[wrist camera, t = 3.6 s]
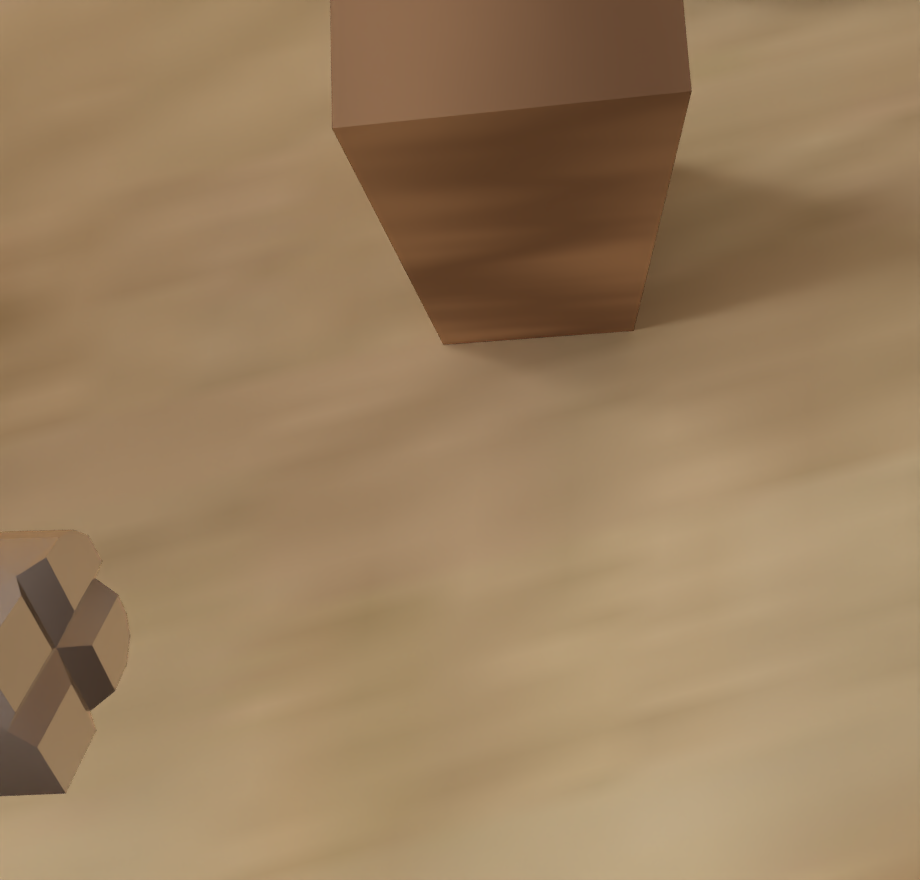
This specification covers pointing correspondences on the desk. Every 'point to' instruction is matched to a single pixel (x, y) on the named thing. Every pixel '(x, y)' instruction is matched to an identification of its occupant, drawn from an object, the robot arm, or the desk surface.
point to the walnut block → (514, 152)
